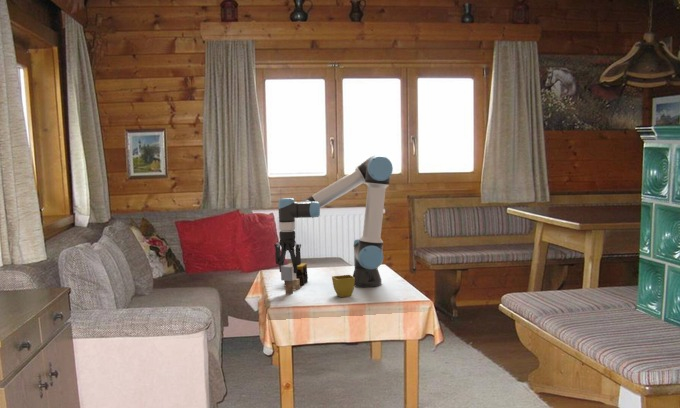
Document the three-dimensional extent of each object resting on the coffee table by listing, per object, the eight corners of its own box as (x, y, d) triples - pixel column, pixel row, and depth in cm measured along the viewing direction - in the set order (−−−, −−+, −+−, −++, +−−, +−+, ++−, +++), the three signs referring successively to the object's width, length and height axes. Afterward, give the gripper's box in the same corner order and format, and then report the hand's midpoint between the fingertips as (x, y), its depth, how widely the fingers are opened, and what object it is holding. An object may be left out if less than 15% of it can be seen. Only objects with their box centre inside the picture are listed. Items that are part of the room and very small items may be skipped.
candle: (303, 286, 321) (302, 266, 320) (284, 285, 323) (283, 266, 322) (308, 282, 331) (307, 263, 330) (289, 281, 333) (288, 262, 332)
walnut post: (293, 293, 304) (292, 278, 303) (290, 294, 302) (289, 279, 301) (288, 292, 305) (287, 278, 305) (285, 294, 303) (285, 279, 302)
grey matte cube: (290, 281, 300) (290, 267, 299) (281, 280, 302) (280, 266, 301) (296, 278, 304) (296, 265, 304) (287, 278, 307) (286, 264, 306)
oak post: (299, 288, 314) (299, 278, 313) (297, 289, 311) (296, 279, 311) (295, 288, 315) (295, 278, 314) (292, 289, 313) (292, 279, 312)
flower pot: (337, 298, 289) (336, 279, 289) (332, 295, 298) (331, 276, 297) (355, 297, 292) (355, 277, 291) (350, 293, 300) (349, 274, 300)
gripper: (307, 230, 300) (309, 279, 302) (275, 229, 309) (276, 276, 310) (299, 232, 294) (301, 282, 295) (266, 231, 302) (268, 279, 303)
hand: (288, 279), depth 303 cm, fingers closed on grey matte cube, 5 cm apart
